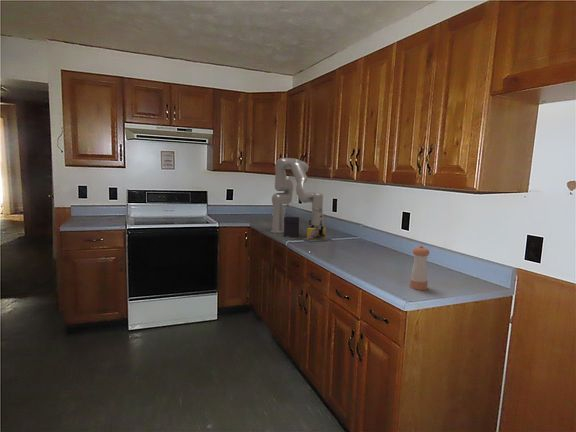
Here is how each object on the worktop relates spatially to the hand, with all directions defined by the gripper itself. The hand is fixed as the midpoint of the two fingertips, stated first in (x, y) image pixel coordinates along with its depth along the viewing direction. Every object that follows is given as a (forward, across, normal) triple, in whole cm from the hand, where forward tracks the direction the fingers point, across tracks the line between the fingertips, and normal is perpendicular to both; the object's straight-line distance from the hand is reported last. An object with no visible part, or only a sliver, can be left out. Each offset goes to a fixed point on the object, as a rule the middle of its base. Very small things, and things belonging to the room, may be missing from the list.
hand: (316, 233), depth 267 cm
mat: (+5, 0, 0) cm, 5 cm away
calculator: (+5, +19, +9) cm, 22 cm away
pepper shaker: (+5, -107, +27) cm, 110 cm away
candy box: (+4, 0, 0) cm, 4 cm away
